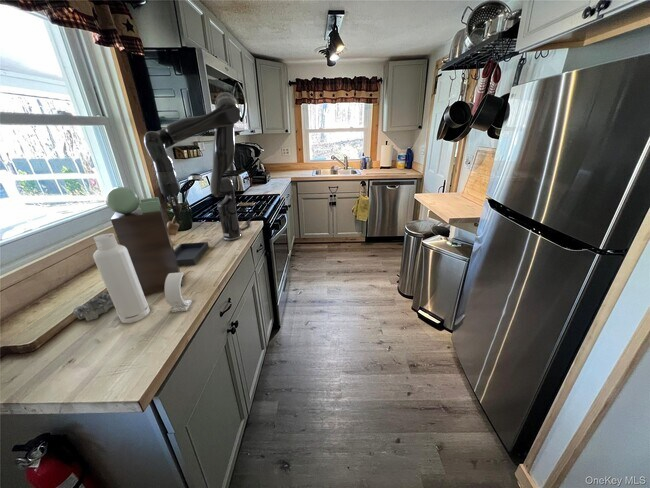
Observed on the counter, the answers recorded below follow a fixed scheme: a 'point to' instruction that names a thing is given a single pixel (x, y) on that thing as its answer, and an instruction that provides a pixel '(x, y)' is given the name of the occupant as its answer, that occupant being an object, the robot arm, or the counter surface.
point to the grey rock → (94, 307)
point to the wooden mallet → (173, 225)
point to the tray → (190, 253)
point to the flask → (130, 201)
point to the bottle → (120, 278)
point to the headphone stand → (175, 292)
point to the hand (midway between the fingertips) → (178, 219)
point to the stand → (147, 247)
